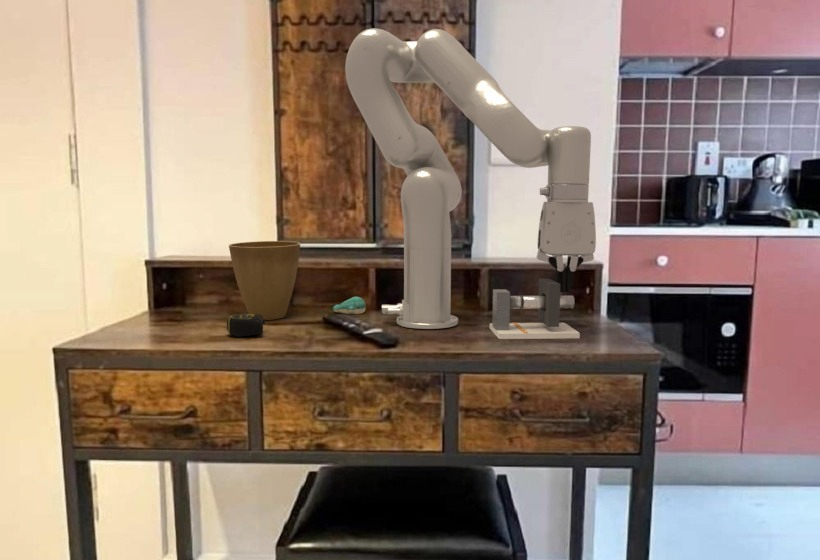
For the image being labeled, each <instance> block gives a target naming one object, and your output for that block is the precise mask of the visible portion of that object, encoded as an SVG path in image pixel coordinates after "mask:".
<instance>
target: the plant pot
mask: <svg viewBox="0 0 820 560" xmlns="http://www.w3.org/2000/svg"><path fill="white" fill-rule="evenodd" d="M228 248H229V253H230V258H231V260H230V261H231V265H232V268H233V272H234V275H235V281H236V284H237V287H238V289H239V294H240V296H241V298H242V300H243V303H244V306H245V309H246V310H247V314H252V315H262V316H263V320H264V319H265V321H271V320H278V319H283V318H285V317H286V314H287V311H288V309H289V307H290V306H289V305H290V303H291V299H292V296H293V291H294V287H295V283H296V279H297V273H298V267H299V261H300V259H299V258H300V252H301V250H300V249H301V242H297V241H291V240H262V241H261V240H260V241H259V240H258V241H245V242H244V241H243V242H235V243H230V244H228Z"/></svg>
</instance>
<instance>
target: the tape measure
mask: <svg viewBox="0 0 820 560" xmlns="http://www.w3.org/2000/svg"><path fill="white" fill-rule="evenodd" d="M264 325H266V320H265V319H264V320H263V316H262V315H252V314H249V313H237V314H232V315H229V316H228V318H227V320H226V331H227V332H228V334H230V335H232V336H235V337H247V336H255V335H260V334H263V331H264Z"/></svg>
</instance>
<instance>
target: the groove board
mask: <svg viewBox="0 0 820 560" xmlns="http://www.w3.org/2000/svg"><path fill="white" fill-rule="evenodd" d="M489 329H490V330H491V332H492V333H493V334H494V335H495V336H496V337H497V339H499V340H528V339H529V340H530V339H531V340H532V339H533V340H534V339H535V340H536V339H538V340H542V339H543V340H544V339H546V340H548V339H551V340H552V339H556V340H557V339H580V336H581V335H580V334H581V333H580V332H579V331H577V330H576V329H574V328H573V327H571V326H570V325H569V324H567V323H565V322H559V327H548V326H547V325H545V324H544V323H543V322H510V324H509V330H495V329H494V328H493V326H492V322H491V323H490V322H489Z"/></svg>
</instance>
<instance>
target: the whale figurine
mask: <svg viewBox="0 0 820 560" xmlns="http://www.w3.org/2000/svg"><path fill="white" fill-rule="evenodd" d="M366 305H367V304H366V302H365V300H364V299H363V298H362V297H360V296H353V297H351V298H349V299H347V300H344V301H343V302H341V303H340V304H335V305H334V306H333V307H332V310H333V312H335V313H341V314H347V315H361V314H364V313H365V311H366V309H367V306H366Z"/></svg>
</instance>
